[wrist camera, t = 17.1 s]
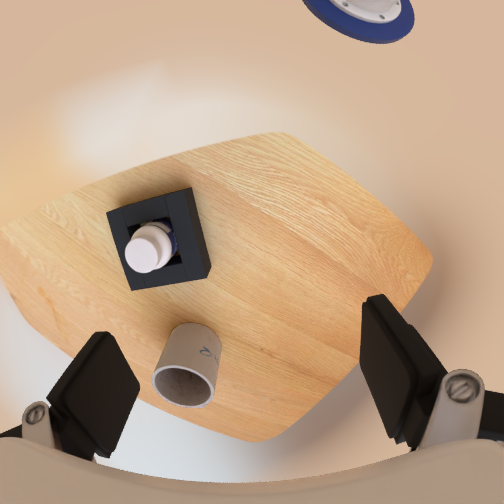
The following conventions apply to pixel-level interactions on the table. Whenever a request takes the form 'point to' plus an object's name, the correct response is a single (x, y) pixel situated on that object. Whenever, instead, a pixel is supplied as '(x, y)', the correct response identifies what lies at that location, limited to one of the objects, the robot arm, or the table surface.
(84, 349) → the robot arm
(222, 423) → the table surface
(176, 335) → the mug
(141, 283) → the socket pad
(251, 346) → the table surface
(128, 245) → the pill bottle
